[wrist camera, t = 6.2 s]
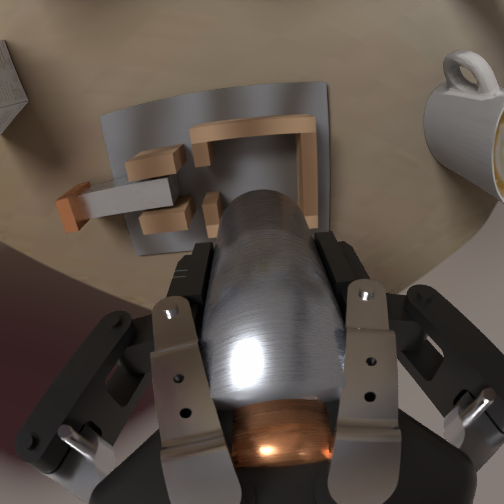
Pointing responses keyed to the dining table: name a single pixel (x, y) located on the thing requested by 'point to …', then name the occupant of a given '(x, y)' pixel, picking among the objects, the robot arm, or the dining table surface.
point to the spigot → (272, 333)
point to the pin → (115, 199)
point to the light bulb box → (9, 89)
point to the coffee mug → (468, 123)
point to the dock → (222, 157)
